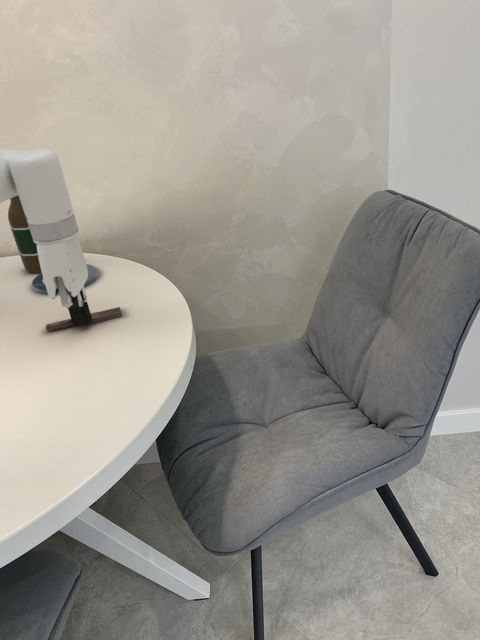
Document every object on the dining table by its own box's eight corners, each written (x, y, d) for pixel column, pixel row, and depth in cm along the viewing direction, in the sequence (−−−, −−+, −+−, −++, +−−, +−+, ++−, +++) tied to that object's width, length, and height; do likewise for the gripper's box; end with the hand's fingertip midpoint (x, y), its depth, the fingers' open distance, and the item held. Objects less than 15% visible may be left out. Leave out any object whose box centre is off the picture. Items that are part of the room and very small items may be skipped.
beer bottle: (44, 259, 133) (12, 158, 121) (66, 263, 130) (35, 159, 117) (18, 271, 128) (-19, 167, 115) (40, 276, 124) (5, 169, 112)
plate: (24, 297, 115) (23, 292, 115) (44, 270, 127) (42, 266, 127) (90, 291, 115) (89, 286, 115) (103, 264, 127) (102, 260, 127)
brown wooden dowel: (46, 334, 100) (44, 328, 100) (46, 328, 102) (44, 322, 102) (122, 316, 104) (121, 310, 103) (120, 311, 106) (119, 304, 105)
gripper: (45, 216, 98) (73, 307, 108) (16, 246, 85) (51, 346, 95) (86, 212, 98) (111, 303, 108) (64, 241, 85) (94, 342, 95)
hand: (83, 323), depth 101 cm, fingers closed
